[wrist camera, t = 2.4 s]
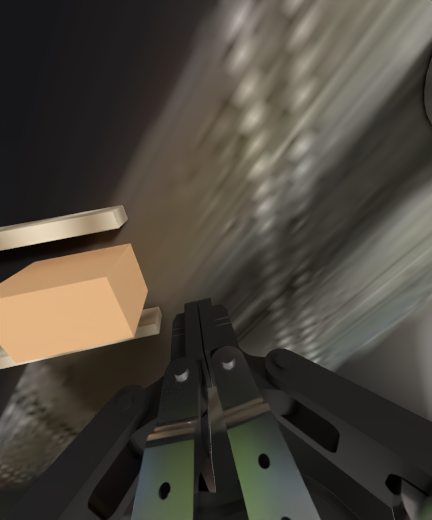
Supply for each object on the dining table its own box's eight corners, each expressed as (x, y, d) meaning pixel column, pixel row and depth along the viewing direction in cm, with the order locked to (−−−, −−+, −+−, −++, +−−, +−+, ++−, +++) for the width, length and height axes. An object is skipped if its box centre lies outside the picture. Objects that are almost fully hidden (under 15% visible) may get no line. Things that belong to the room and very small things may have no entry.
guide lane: (122, 205, 16) (112, 211, 14) (162, 315, 21) (159, 333, 19) (-94, 244, 15) (-143, 258, 13) (1, 350, 20) (-23, 374, 18)
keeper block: (130, 243, 17) (106, 276, 12) (148, 290, 20) (134, 337, 14) (35, 261, 17) (-35, 305, 11) (64, 308, 19) (16, 363, 14)
